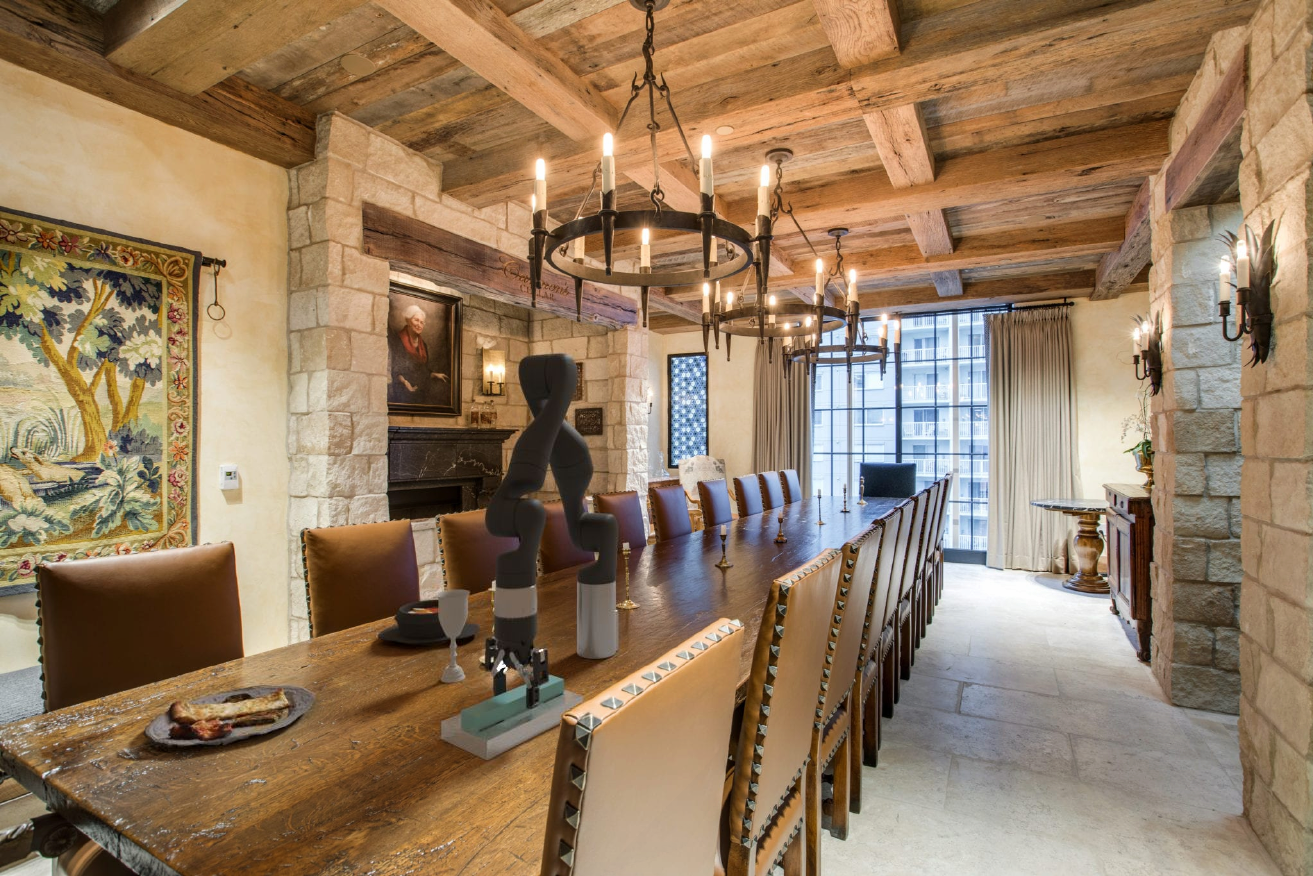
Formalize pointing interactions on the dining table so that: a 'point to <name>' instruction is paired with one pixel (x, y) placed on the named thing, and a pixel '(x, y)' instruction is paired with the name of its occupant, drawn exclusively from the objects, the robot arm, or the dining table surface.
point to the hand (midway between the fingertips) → (515, 701)
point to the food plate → (228, 715)
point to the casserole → (421, 625)
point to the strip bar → (507, 705)
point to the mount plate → (508, 727)
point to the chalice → (453, 626)
